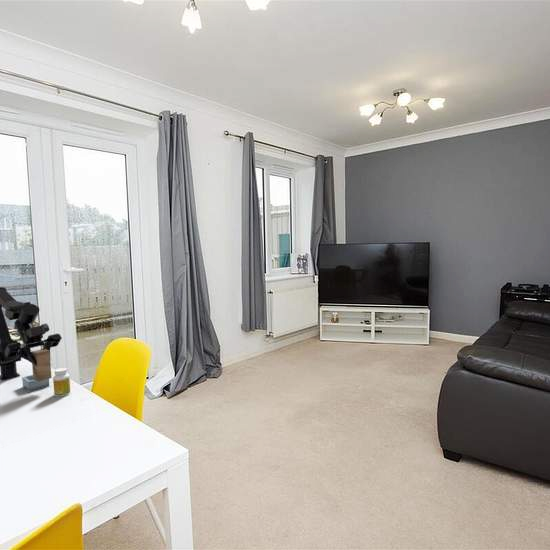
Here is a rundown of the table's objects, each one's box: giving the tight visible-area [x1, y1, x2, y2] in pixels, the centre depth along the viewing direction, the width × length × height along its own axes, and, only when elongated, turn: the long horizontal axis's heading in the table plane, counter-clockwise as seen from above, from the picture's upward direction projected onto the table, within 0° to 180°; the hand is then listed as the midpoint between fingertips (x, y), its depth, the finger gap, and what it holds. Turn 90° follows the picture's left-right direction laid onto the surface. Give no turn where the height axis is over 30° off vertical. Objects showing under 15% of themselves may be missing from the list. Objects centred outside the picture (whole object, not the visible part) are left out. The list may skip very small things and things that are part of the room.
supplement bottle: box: [52, 367, 71, 398], centre depth 144 cm, size 5×5×10 cm
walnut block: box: [31, 348, 53, 382], centre depth 145 cm, size 4×4×11 cm
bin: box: [21, 374, 50, 392], centre depth 152 cm, size 7×7×4 cm
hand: (43, 362), depth 144 cm, fingers closed on walnut block, 4 cm apart
